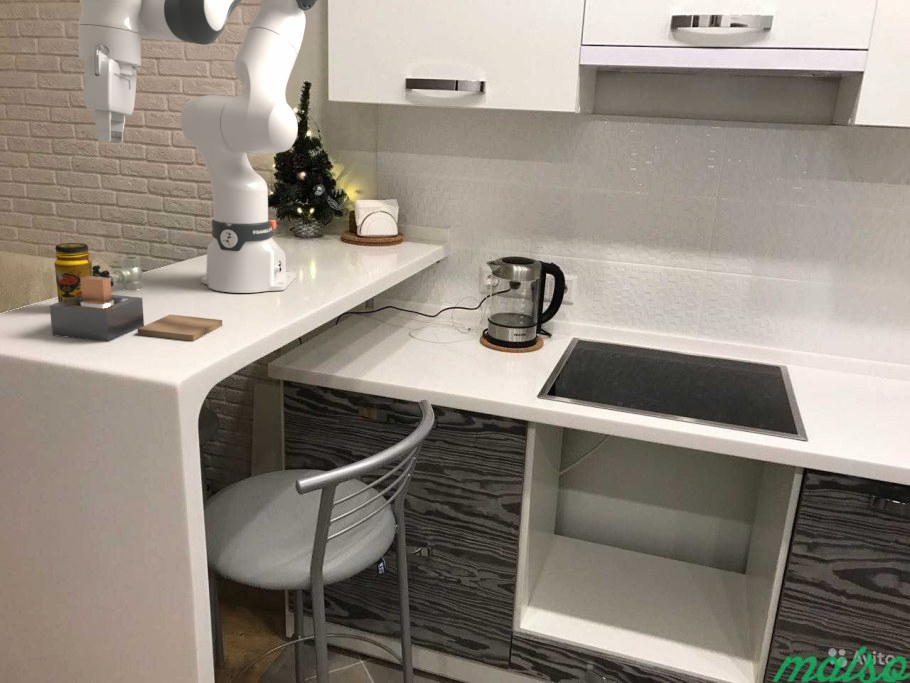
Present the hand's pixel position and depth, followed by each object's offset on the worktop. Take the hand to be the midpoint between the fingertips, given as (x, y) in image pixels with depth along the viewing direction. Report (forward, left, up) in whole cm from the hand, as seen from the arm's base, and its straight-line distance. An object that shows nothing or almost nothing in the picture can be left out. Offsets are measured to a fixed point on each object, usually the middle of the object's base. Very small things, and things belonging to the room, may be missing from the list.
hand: (110, 142), depth 120 cm
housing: (+3, -3, -31) cm, 31 cm away
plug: (+3, -3, -31) cm, 31 cm away
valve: (-21, -15, -31) cm, 41 cm away
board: (-2, +9, -31) cm, 32 cm away
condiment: (-8, -15, -31) cm, 35 cm away
